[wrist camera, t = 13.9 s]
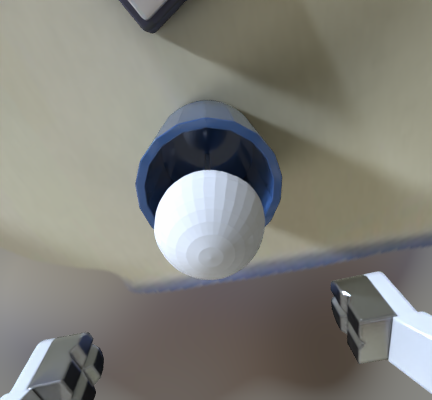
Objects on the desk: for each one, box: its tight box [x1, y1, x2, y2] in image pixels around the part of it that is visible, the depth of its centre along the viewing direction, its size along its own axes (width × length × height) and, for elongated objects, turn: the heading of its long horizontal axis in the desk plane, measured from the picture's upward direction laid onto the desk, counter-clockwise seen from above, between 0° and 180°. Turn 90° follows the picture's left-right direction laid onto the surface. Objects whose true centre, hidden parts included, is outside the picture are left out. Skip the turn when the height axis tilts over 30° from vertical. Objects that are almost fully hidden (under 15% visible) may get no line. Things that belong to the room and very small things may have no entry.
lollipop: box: [154, 154, 265, 280], centre depth 19 cm, size 6×6×15 cm
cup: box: [135, 100, 282, 229], centre depth 22 cm, size 10×10×9 cm
